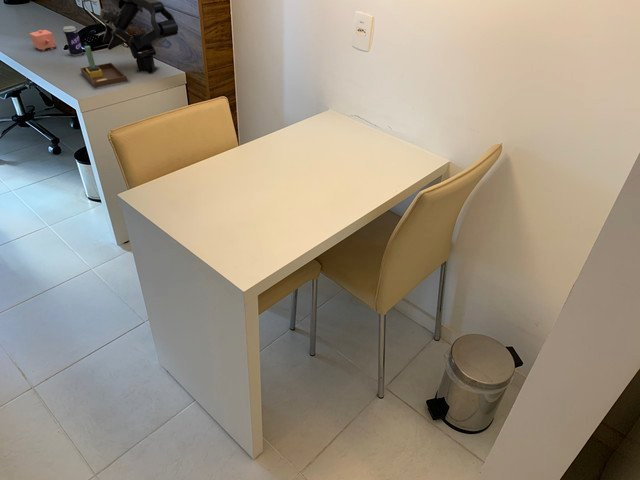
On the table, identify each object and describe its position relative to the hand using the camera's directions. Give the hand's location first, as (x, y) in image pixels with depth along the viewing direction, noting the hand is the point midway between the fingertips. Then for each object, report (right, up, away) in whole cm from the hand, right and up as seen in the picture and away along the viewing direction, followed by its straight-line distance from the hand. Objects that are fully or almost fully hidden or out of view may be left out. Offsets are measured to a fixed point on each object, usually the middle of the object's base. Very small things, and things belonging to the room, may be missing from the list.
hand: (105, 45), depth 203 cm
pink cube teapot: (-42, +11, +30) cm, 53 cm away
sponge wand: (-6, -11, +3) cm, 13 cm away
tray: (-2, -13, +3) cm, 13 cm away
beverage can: (-25, +6, +25) cm, 35 cm away
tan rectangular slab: (0, -17, -3) cm, 17 cm away
